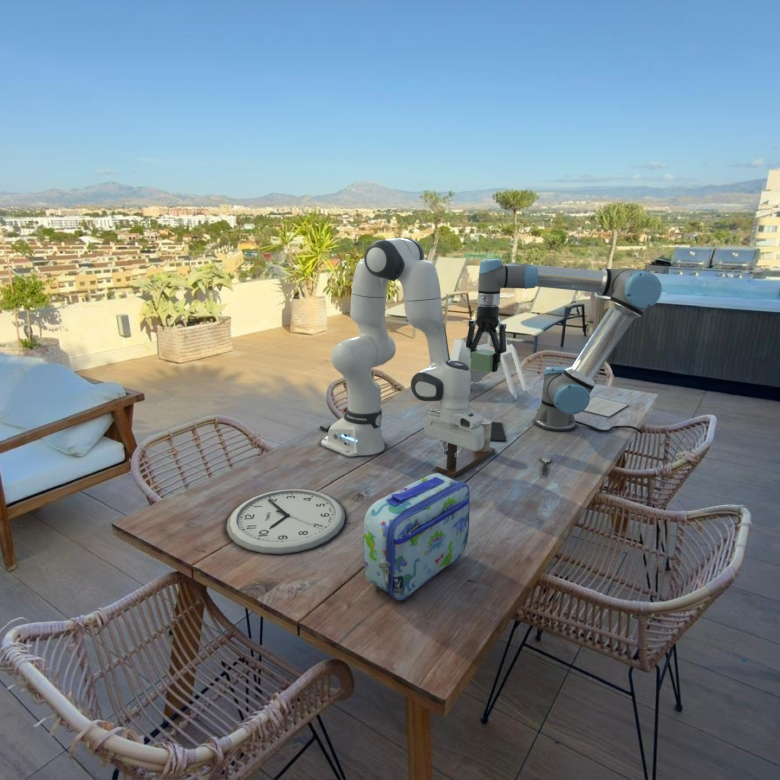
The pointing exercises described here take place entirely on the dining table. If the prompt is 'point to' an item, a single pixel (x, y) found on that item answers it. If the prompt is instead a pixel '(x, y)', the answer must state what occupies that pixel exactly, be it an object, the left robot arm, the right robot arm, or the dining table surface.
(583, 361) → the right robot arm
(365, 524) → the lunch box
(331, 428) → the left robot arm
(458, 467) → the caddy
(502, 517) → the dining table surface
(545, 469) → the fork
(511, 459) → the dining table surface
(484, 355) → the sage green cube
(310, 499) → the wall clock
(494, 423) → the slate mat
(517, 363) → the white plastic object
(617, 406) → the invitation card
